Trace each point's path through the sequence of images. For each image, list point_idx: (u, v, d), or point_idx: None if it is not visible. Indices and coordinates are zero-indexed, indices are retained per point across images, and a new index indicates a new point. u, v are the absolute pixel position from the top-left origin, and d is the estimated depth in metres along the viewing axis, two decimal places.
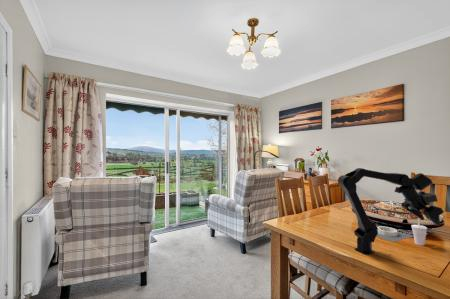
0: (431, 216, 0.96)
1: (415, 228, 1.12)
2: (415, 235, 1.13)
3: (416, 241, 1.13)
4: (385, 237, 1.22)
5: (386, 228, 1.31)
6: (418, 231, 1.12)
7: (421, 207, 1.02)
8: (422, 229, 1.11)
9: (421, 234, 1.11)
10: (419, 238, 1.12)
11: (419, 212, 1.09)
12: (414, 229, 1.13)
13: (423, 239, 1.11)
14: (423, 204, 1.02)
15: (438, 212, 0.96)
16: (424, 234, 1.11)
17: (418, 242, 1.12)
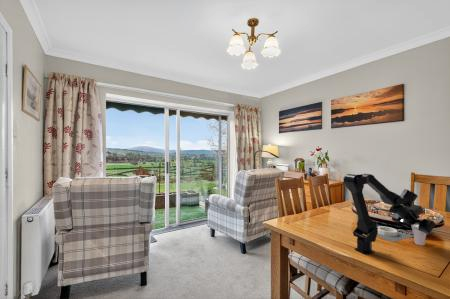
0: (428, 231, 1.03)
1: (415, 228, 1.13)
2: (415, 235, 1.13)
3: (416, 241, 1.13)
4: (385, 237, 1.22)
5: (386, 228, 1.31)
6: (418, 231, 1.12)
7: (414, 221, 1.10)
8: None
9: (421, 234, 1.11)
10: (419, 238, 1.12)
11: None
12: (414, 229, 1.13)
13: (423, 239, 1.11)
14: (415, 218, 1.10)
15: (432, 225, 1.04)
16: (424, 234, 1.11)
17: (418, 242, 1.12)
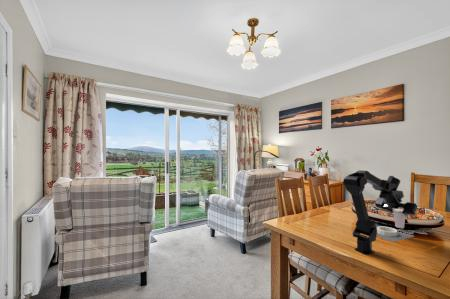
0: (413, 213, 1.12)
1: (397, 212, 1.21)
2: (397, 218, 1.22)
3: (397, 224, 1.22)
4: (385, 237, 1.22)
5: (386, 228, 1.31)
6: (400, 214, 1.20)
7: (398, 205, 1.18)
8: None
9: (402, 217, 1.20)
10: (400, 221, 1.21)
11: (391, 208, 1.26)
12: (396, 213, 1.22)
13: (403, 221, 1.21)
14: (399, 202, 1.18)
15: (415, 207, 1.13)
16: (404, 217, 1.20)
17: (399, 225, 1.21)
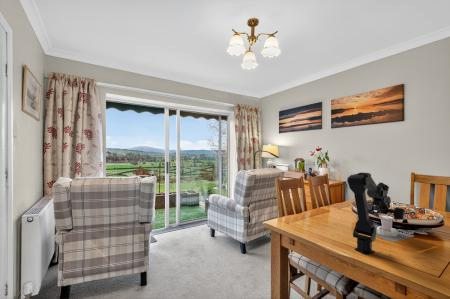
0: (402, 218, 1.17)
1: (385, 219, 1.26)
2: (385, 225, 1.27)
3: None
4: (385, 237, 1.22)
5: None
6: (388, 222, 1.25)
7: (388, 211, 1.22)
8: (391, 219, 1.25)
9: (390, 224, 1.26)
10: (388, 228, 1.26)
11: (377, 212, 1.32)
12: (384, 220, 1.26)
13: (391, 228, 1.26)
14: (388, 208, 1.23)
15: (404, 213, 1.18)
16: (391, 223, 1.26)
17: None
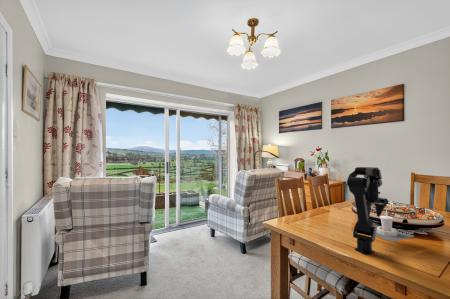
0: None
1: (385, 219, 1.26)
2: (385, 225, 1.27)
3: None
4: (385, 237, 1.22)
5: None
6: (388, 221, 1.26)
7: None
8: (391, 219, 1.25)
9: (390, 224, 1.26)
10: (388, 228, 1.26)
11: None
12: (384, 220, 1.27)
13: (391, 228, 1.26)
14: None
15: None
16: (391, 223, 1.26)
17: None
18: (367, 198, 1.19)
